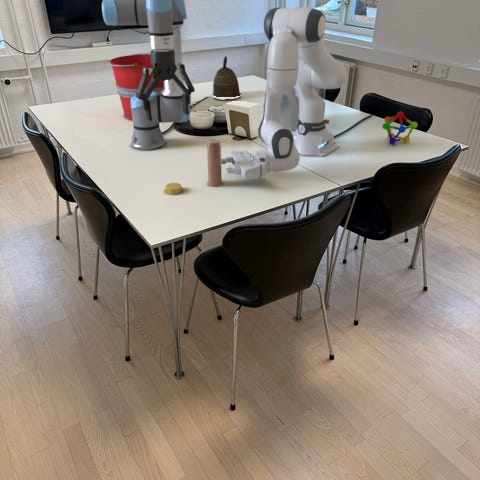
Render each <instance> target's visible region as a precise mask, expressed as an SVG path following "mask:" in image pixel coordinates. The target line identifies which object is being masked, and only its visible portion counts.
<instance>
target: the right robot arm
mask: <svg viewBox="0 0 480 480" xmlns="http://www.w3.org/2000/svg"><path fill="white" fill-rule="evenodd" d="M326 21H327V20H326V16H325V13H323V11H322V10H319V9H317V8H313V7H312V6H302V7H300V6H299V7H298V6H295V7H273V8H270V9H269V10H268V11H267V12H266V13H265V16H264V19H263V31H264V34H265V37H266V38H267V40H268V41H269V45H268V52H267V59H266V60H267V61H266V85H265V93H264V94H265V95H264V104H263V113H262V118H261V121H260V123H259V126H258V130H257V133H258V134H257V135H258V137H259V139H260V141H261V142H263V143H264V144H265V145H267V149H264V150H263V149H262V150H253V151H252V152H251V153H250V152H248V151H247V150H232V151H230V152H229V155H228V156H226V157H224V158H221V165H227V163H231V164H232V165H233V166H234V167H227V168H226V172H227V174H229V175H232V174H234V175H240V176H241V178H242V179H244V180H255V179H256V180H257V179H259V178H260V179H266V178H267V174H269V173H271V172H276V173H278V172H285V171H289V170H293V169H295V168H296V167H297V166H298V164H299V163H300V155H302V156H313V157H314V156H316V157H317V156H319V157H325V156H327V155H328V154H330V153H332V152H334V151H335V150H336V149H338V148H339V144H338V143H337V142H335V139H336V138H338V137H339V136H341V135H343V134H345V133H347V132H348V131H350V130H352V129H353V128H355V127H356V126H357V125H359V124H360V123H362V122H363V121H365V120H367V119H369V118H371V117H373V114H369V115H367V116H365V117H363V118H362V119H360V120H358V121H357V122H356V123H353V125H351V126H350V127H348V128H346V129H345V130H343V131H342V132H339V133H337V134H335V135H334V133H333V132H331V131H330V130H329V129H328V128H327V125H330V122H331V120H330V119H327V118H325V113H326V112H325V111H326V101H325V99H324V100H323V97H320V96H319V95H318V94H317V93H316V91H315V89H314V87H315V88H322V89H325V90H335V89H336V90H337V89H340V88H341V87H342V86H343V84H344V83H345V81H346V78H347V69H346V67H345V65H344V64H343V63H341V62H340V61H338V60H337V59H336V58H334V57H333V55H332V54H331V53H330V51H328V48H327V47H326V43H325V42H326V41H325V39H324V34H325V31H326V24H327V22H326ZM293 88H295V90H296V92H297V95H298V99H299V118H298V120H297V129H296V130H295V134H293V132H291V131H292V130H289V129H287V128H286V127H285V126H283V125H282V123H281V121H280V118H279V115H280V106H281V99H282V96H283V95H284V94H285V93H287V92H289V91H291V90H292V89H293Z"/></svg>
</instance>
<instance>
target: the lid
mask: <svg viewBox="0 0 480 480" xmlns="http://www.w3.org/2000/svg"><path fill="white" fill-rule="evenodd" d="M165 192H166V194H169V195H178V194H181V193H182V192H183V186H182V184H181V183H179V182H170V183H167V184H166V185H165Z"/></svg>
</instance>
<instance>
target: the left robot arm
mask: <svg viewBox="0 0 480 480" xmlns="http://www.w3.org/2000/svg"><path fill="white" fill-rule="evenodd" d="M101 13H102V18H103V22H104V23H105V25H106V26H113V27H117V26H148V35H149V36H148V38H149V49H151V50H150V53H151V61H152V68H146V67H143V75H142V78H141V81H140V84H139V87H138V90H137V93H136V95H134V96H133V97H132V98H131V110H132V118H133V120H132V125H133V132H132V135H131V142H130V143H131V147H132V148H134V149H135V150H141V151H151V150H153V151H154V150H157V149H161V148H163V147H164V146H165V144H166V140H165V137H164V134H166V133H168V132H170V130H172V129H173V127H174V126H175V124H176V123H179V124H180V123H184V122H185V123H186V122H188V121H189V120H190V118H191V117H190V116H191V109H192V108H193V107H194V106H196V105H198V104H199V103H201V102H203V101H205V100H206V99H208V98H209V97H207V96H205V97H206V98H205V97H203V98H204V99H203V98H202V99H203V100H201V99H200V100H201V101H199V100H198V101H199V102H198V101H196V102H197V103H196V102H195V103H196V104H194V103H193V104H192V93H194V92H195V91H196V89H195V87H194V85H193V83H192V81H191V79H190V77H189V75H188V73H187V71H186V66H185V64H183V54H182V53H183V51H182V38H181V37H182V36H181V28H182V27H183V26H184V20H187V18H188V16H187V9H186V3H185V0H102V2H101ZM151 72H152V73H153V74H154V75H153V77H152V79H151V82H150V83H149V85H148V86H147V88H146V85H147V82H148V79H149V75H150V74H151ZM159 81H164V89H163V90H162V91H161V96H157V94H156V92H152V91H153V90H154V88H155V86H156V85H157V83H159ZM184 83H185V84H184ZM145 88H146V90H145ZM192 105H193V106H192ZM174 122H175V123H174ZM160 123H162V124H163V123H171V125H170V126H169V128H167V129H166V130H163V131H162V130H161V127H160Z"/></svg>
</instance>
